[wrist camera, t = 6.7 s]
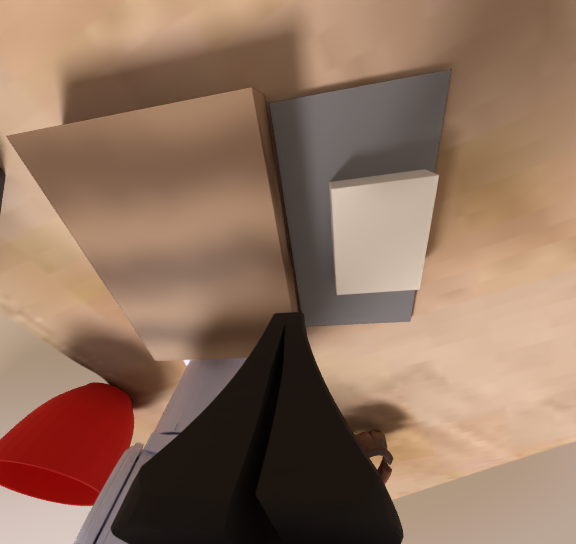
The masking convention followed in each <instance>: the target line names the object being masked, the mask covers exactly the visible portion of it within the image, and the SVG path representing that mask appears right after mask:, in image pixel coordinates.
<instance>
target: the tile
mask: <svg viewBox="0 0 576 544" xmlns="http://www.w3.org/2000/svg"><path fill="white" fill-rule="evenodd" d="M438 180H439V175H438V174H435V173H433V172H431V171H428V170H426V169H422V170H415V171H407V172H400V173H393V174H385V175H378V176H370V177H363V178H356V179H348V180H341V181H333V182H329V188H330V206H331V224H332V242H333V260H334V279H335V286H336V293H337V295H345V294H360V293H375V292H390V291H405V290H420V284H421V278H422V273H423V267H424V261H425V255H426V249H427V244H428V238H429V232H430V226H431V220H432V215H433V209H434V203H435V197H436V191H437V185H438Z"/></svg>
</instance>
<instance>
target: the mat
mask: <svg viewBox="0 0 576 544" xmlns="http://www.w3.org/2000/svg"><path fill="white" fill-rule="evenodd" d="M451 70H452V69H450V70H444V71H439V72H433V73H428V74H423V75H417V76H412V77H407V78H401V79H396V80H391V81H385V82H380V83H374V84H369V85H364V86H358V87H353V88H348V89H342V90H337V91H332V92H326V93H321V94H316V95H310V96H305V97H299V98H294V99H289V100H283V101H278V102H273V103H270V110H271V117H272V123H273V130H274V136H275V143H276V149H277V156H278V162H279V169H280V175H281V182H282V188H283V195H284V202H285V208H286V215H287V221H288V228H289V234H290V241H291V247H292V254H293V260H294V267H295V273H296V280H297V287H298V293H299V300H300V306H301V312H302V313H304V317H305V325H306V326H326V325H347V324H368V323H389V322H410V321H411V314H412V308H413V302H414V296H415V290H405V291H390V292H375V293H360V294H345V295H337V293H336V286H335V279H334V260H333V242H332V224H331V206H330V188H329V182H333V181H341V180H348V179H356V178H363V177H370V176H378V175H385V174H393V173H400V172H407V171H415V170H422V169H426V170H428V171H431V172H433V173H435V168H436V162H437V156H438V150H439V143H440V137H441V131H442V125H443V119H444V113H445V107H446V101H447V95H448V88H449V82H450V76H451Z"/></svg>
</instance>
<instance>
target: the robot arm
mask: <svg viewBox="0 0 576 544" xmlns="http://www.w3.org/2000/svg"><path fill="white" fill-rule="evenodd" d="M184 362H185V364H186V366H187V367H186V369H185V371H184V373H183V375H182V377H181V379H180V381H179V383H178V385H177V387H176V389H175V391H174V393H173V395H172V397H171V399H170V401H169V403H168V405H167V407H166V409H165V411H164V413H163V415H162V417H161V419H160V421H159V423H158V425H157V427H156V429H155V431H154V432H153V433H152V434H151V436H150V438H149V440H148V442H147V444H146V446H145V448H144V450H143V449H142V448H143V445H144V444H142V443H136V444H135V445H134V446H132V447H130V448H128V449H126V451H125V452H124V453H123V455H122V456H121V458H120V460H119V461H118V463H117V465H116V466H115V468H114V470H113V471H112V473H111V475H110V477H109V478H108V480H107V482H106V484H105V485H104V487H103V489H102V491H101V492H100V494H99V496H98V498H97V500H96V502H95V503H94V505H93V507H92V509H91V511H90V513H89V515H88V516H87V518H86V520H85V522H84V524H83V526H82V528H81V530H80V532H79V534H78V536H77V538H76V540H75V542H74V544H401V542H402V539H403V529H402V526H401V523H400V520H399V516H398V514H397V511H396V509H395V507H394V504H393V502H392V500H391V497H390V495H389V493H388V491H387V489H386V487H385V485H384V483H383V481H382V478H381V476H380V474H379V472H378V470H377V469H376V467H375V466H374V464H373V463H372V461H371V460H370V459H369V457H368V456H367V454H366V453H365V451H364V449H363V448H362V446H361V445H360V443H359V442H358V440H357V439H356V437H355V435H354V434H353V432H352V431H351V429H350V427H349V426H348V424H347V422H346V421H345V419H344V417H343V415H342V414H341V412H340V410H339V408H338V407H337V405H336V403H335V401H334V399H333V397H332V396H331V394H330V392H329V390H328V388H327V386H326V384H325V381H324V379H323V377H322V375H321V373H320V371H319V368H318V366H317V363H316V361H315V358H314V356H313V353H312V350H311V347H310V344H309V341H308V338H307V332H306V325H305V317H304V313H302V312H288V313H275V314H274V315H273V316H272V318H271V320H270V322H269V324H268V326H267V327H266V329H265V331H264V333H263V334H262V336H261V338H260V339H259V341H258V342H257V344H256V346H255V347H254V349H253V350H252V352H251V353H250V355H249V356H248V358H230V359H197V360H184Z"/></svg>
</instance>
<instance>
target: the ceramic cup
mask: <svg viewBox="0 0 576 544" xmlns="http://www.w3.org/2000/svg"><path fill="white" fill-rule="evenodd" d="M133 430H134V414H133V409H132V400H131V398H130V397H129V396H128V395H127V394H126V393H125V392H124V391H122V390H120V389H118V388H116V387H114V386H111V385H108V384H104V383H89V384H87V385H85V386H82V387H78V388H76V389H73V390H70V391H68V392H65V393H63V394H60V395H58V396H56V397H54V398H52V399H51V400H49V401H48V402H46V403H44V404H43V405H41V406H40V407H38V408H37V409H35V410H34V411H33V412H32V413H30V414H29V415H28V416H27V417H25V418H24V419H23V420H22V421H20V422H19V423H18V424H17V425H16V426H15V427H14V428H13V429H11V430H10V431H9V432H8V433H7V434H6V435H5V436H4V437H3V438H2V439H1V440H0V485H1V486H3V487H5V488H8V489H10V490H13V491H16V492H19V493H21V494H25V495H28V496H31V497H35V498H38V499H42V500H46V501H51V502H56V503H61V504H68V505H77V506H93V505H94V503H95V502H96V500H97V498H98V496H99V494H100V492H101V491H102V489H103V487H104V485H105V484H106V482H107V480H108V478H109V477H110V475H111V473H112V471H113V470H114V468H115V466H116V465H117V463H118V461H119V460H120V458H121V456H122V455H123V453H124V452H125V451H126V449H128V448H129V447H130V443H131V440H132V436H133Z"/></svg>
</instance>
